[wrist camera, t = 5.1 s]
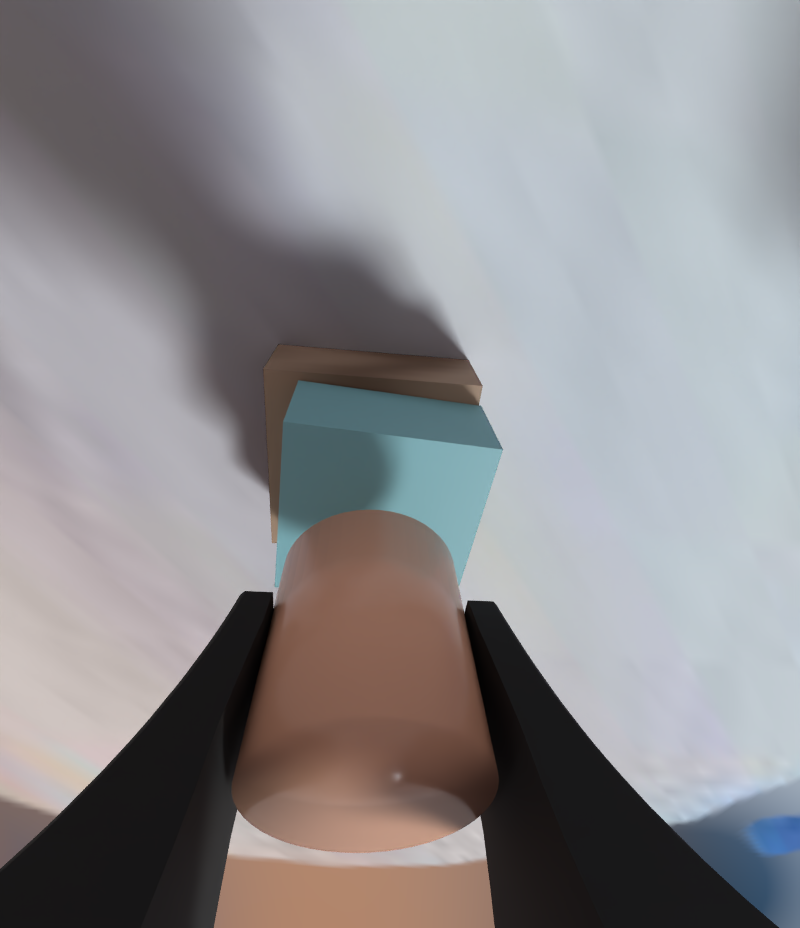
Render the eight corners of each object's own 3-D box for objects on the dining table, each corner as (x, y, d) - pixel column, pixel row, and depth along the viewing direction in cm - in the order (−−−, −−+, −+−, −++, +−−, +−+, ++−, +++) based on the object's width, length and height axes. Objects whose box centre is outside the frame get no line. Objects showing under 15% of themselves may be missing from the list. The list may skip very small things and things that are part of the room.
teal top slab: (481, 405, 16) (502, 449, 13) (442, 543, 19) (453, 601, 16) (298, 380, 15) (283, 421, 12) (288, 528, 18) (274, 587, 15)
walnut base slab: (466, 357, 18) (482, 385, 15) (441, 506, 21) (450, 550, 19) (279, 341, 17) (263, 368, 15) (284, 498, 21) (272, 542, 18)
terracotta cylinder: (471, 518, 11) (531, 722, 7) (437, 640, 13) (467, 853, 9) (285, 501, 11) (225, 710, 6) (281, 631, 13) (235, 852, 9)
